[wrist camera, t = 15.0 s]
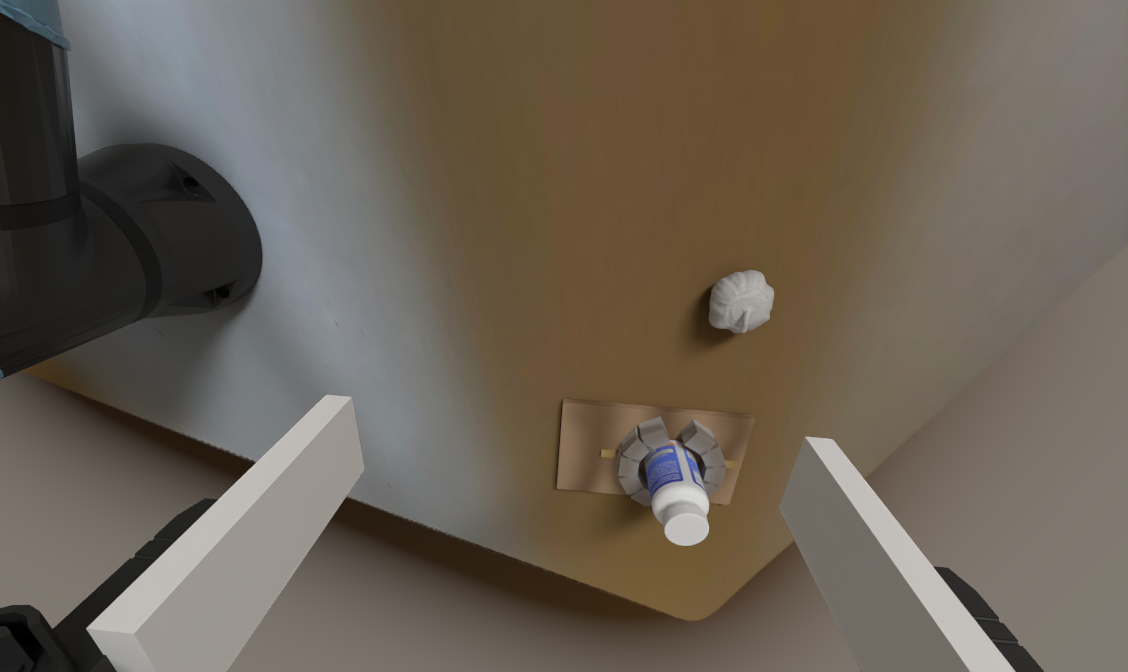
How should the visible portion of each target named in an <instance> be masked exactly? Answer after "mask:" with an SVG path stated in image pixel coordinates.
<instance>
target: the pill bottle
mask: <svg viewBox="0 0 1128 672" xmlns="http://www.w3.org/2000/svg"><path fill="white" fill-rule="evenodd" d="M644 463H645V470H646V475H647V481H648V487H649V493H650V499H651V505H652V510H653V513H654V515H655V517H656V518H657V519H658V521H660V522H661V523H662V524H663V529H664V533H665V535H666V537H667V538H668V539H669V540H670V541H671V542H673V543H675V544H677V545H682V546H689V545H694V544H697V543H699V542H701V541H702V540H703V539H705V537H706V536H707V534H708V532H709V525H708V521H707V517H706V515H707V513H708V510H709V500H708V497H707V494H706V491H705V487H704V484H703V481H702V478H701V475H700V472H699V469H698V466H697V463H696V460H695V457H694V454H693V452H692V451H691V449H690V448H689V447H687V446H685V445H684V443H682V442H679V441H675V440H670V444H668V445H666V446H663V447H660V448H657V449H654V450H651V451H650V452H649V453H648V454H647V455H646V456H645V459H644Z"/></svg>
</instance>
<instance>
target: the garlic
mask: <svg viewBox="0 0 1128 672" xmlns="http://www.w3.org/2000/svg"><path fill="white" fill-rule="evenodd" d="M773 299H774V290H773V288H772V287H770V286H768V285H767V284H766V282H765V278H764V276H763V274H762V273H760V272H758V271H754V270H747V271H744V272H734V273H732V274H731V275H729V276H727V277H725V278H721V279H720V280H719V281H717V282H716V283H715V285H714V286H713V288H712V290H711V297H710V301H709V306H710V312H709V322H710V324H711V325H712V326H713V327H715V328H719V329H729V330H731V331H732V332H733V333H739V332H741V333H745V332H746V331H749V330H753V329H755V328H756V327H758V326H760V325H762V324H763V323H764V322H766V321H768V320H769V318H770V310H771V309H772V303H773Z"/></svg>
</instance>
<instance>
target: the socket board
mask: <svg viewBox="0 0 1128 672" xmlns="http://www.w3.org/2000/svg"><path fill="white" fill-rule="evenodd" d="M754 422H755V418H754V416H753V415H749V414H737V413H726V412H714V411H703V410H691V409H679V408H668V407H656V406H645V405H633V404H622V403H610V402H598V401H587V400H575V399H564V398H563V409H562V423H561V437H560V450H559V464H558V478H557V489H565V490H576V491H586V492H597V493H608V494H619V495H630V498H632V499H633V500H635V501H637V502H639V503H640V504H642V505H644V506H646V507H649V506H650V505H651V499H650V493H649V487H648V481H647V475H646V470H645V463H644V459H645V456H646V455H647V454H648V453H649V452H650V451H651V450H654V449H657V448H660V447H663V446H666V445H668V444H670V440H675V441H679V442H682V443H684V445H685V446H687V447H689V448H690V449H691V451H692V452H693V454H694V457H695V460H696V463H697V466H698V469H699V472H700V475H701V478H702V481H703V484H704V487H705V491H706V494H707V497H708V500H709V503H716V504H727V505H729V504H730V501H731V497H732V494H733V491H734V487H735V484H736V481H737V478H738V474H739V471H740V468H741V464H742V461H743V458H744V455H745V451H746V448H747V445H748V441H749V438H750V435H751V432H752V428H753V425H754Z"/></svg>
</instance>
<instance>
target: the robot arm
mask: <svg viewBox="0 0 1128 672" xmlns="http://www.w3.org/2000/svg"><path fill="white" fill-rule="evenodd" d="M67 50H69V51H71V46H70V43H69V41H68V40H67V39H66V38H65V37H64V34H63V29H62V23H61V17H60V11H59V5H58V0H0V379H2V378H4V377H7V376H9V375H12V374H14V373H16V372H19V371H21V370H23V369H26V368H28V367H30V366H33V365H35V364H37V363H40V362H42V361H44V360H47V359H49V358H52V357H54V356H56V355H59V354H61V353H63V352H66V351H68V350H70V349H73V348H75V347H77V346H80V345H82V344H84V343H87V342H89V341H91V340H94V339H96V338H98V337H101V336H103V335H105V334H108V333H110V332H112V331H115V330H117V329H119V328H122V327H124V326H126V325H129V324H131V323H134V322H136V321H138V320H141V319H144V318H155V317H167V316H178V315H190V314H201V313H207V312H211V311H214V310H217V309H220V308H222V307H224V306H226V305H228V304H231V303H233V302H235V301H237V300H239V299H240V298H242V297H243V296H244V295H246V294H247V293H248V292H249V291H250V290H251V288H252V287H253V285H254V284H255V282H256V280H257V278H258V275H259V272H260V267H261V258H262V253H261V243H260V238H259V234H258V231H257V228H256V225H255V223H254V220H253V218H252V216H251V214H250V212H249V210H248V208H247V207H246V205H245V204H244V202H243V200H242V199H241V198H240V196H239V195H238V194H237V192H236V191H235V190H234V189H233V187H232V186H231V185H230V184H229V183H228V182H227V181H226V180H225V179H224V178H223V177H222V176H221V175H220V174H219V173H217V172H216V171H215V170H214V169H213V168H211V167H210V166H209V165H207V164H206V163H204V162H203V161H201V160H200V159H198V158H196V157H194V156H193V155H190V154H188V153H186V152H184V151H182V150H179V149H176V148H173V147H170V146H166V145H160V144H120V145H114V146H109V147H105V148H102V149H100V150H97V151H95V152H93V153H91V154H88V155H86V156H84V157H82V158H79V159H77V155H76V144H75V133H74V122H73V111H72V101H71V90H70V79H69V68H68V57H67ZM363 471H364V464H363V458H362V452H361V447H360V441H359V435H358V429H357V424H356V418H355V412H354V406H353V401H352V397H346V396H335V395H326V396H324V397H323V398H322V399H321V400H320V401H319V402H318V403H317V404H316V405H315V406H314V407H313V408H312V409H311V410H310V411H309V412H308V413H307V414H306V415H305V416H304V417H303V418H302V419H301V420H300V421H299V422H298V423H297V424H296V425H295V426H294V427H293V428H292V429H291V430H290V431H289V432H287V433H286V434H285V435H284V436H283V437H282V438H281V439H280V440H279V441H278V442H277V443H276V444H275V445H274V446H273V447H272V448H271V449H270V450H269V451H268V452H267V453H266V454H265V455H264V456H263V457H262V458H261V459H260V460H259V461H258V462H257V463H256V464H255V465H254V466H253V467H252V468H250V469H249V470H248V472H246V473H245V474H244V475H243V476H242V477H241V478H240V479H239V480H238V481H237V482H236V483H235V484H234V485H233V486H232V487H231V488H230V489H229V490H228V491H227V492H226V493H225V494H224V495H223V496H222V497H221V498H220V499H219V500H218V499H206V498H205V499H203V500H202V501H200V502H198V503H197V504H195V505H193V506H192V507H190V508H189V509H187V510H185V511H183V512H182V513H180V514H178V515H177V516H176V517H175V518H174V519H173V520H172V521H170V522H169V523H168V524H167V525H166V526H165V527H164V528H163V529H162V530H161V531H159V532H158V533H157V534H156V535H155V536H154V539H153V540H152V541H149V542H147V543H146V544H145V545H144V546H143V547H142V548H141V549H140V550H139V551H138V552H137V553H135V557H134V558H133V559H131V558H130V559H129V560H128V561H127V562H126V563H124V564H123V565H122V566H121V567H120V568H119V569H118V570H117V571H116V572H115V573H114V574H112V575H111V576H110V577H109V578H108V579H107V580H106V581H105V582H104V583H103V584H101V585H100V586H99V587H98V588H97V589H96V590H95V591H94V592H93V593H92V594H91V595H89V596H88V597H87V598H86V599H85V600H84V601H83V602H82V603H81V604H80V605H78V607H76V608H75V609H74V610H73V611H72V612H71V613H70V614H69V615H68V616H66V617H65V618H64V619H63V620H62V621H61V622H60V623H59V624H58V625H57V626H56V627H55V628H53V629H52V628H51V627H50V625H49V624H48V622H47V621H46V619H45V618H44V617H43V615H42V614H41V613H40V611H39V610H37V609H35V608H33V607H32V606H30V605H11V606H7V607H4V608H0V672H226V671H227V670H228V669H229V667H230V666H231V664H232V663H233V661H234V660H235V658H236V657H237V655H238V654H239V652H240V651H241V650H242V648H243V647H244V645H245V644H246V642H247V640H248V639H249V638H250V636H251V635H252V633H253V632H254V631H255V629H256V628H257V626H258V625H259V623H260V622H261V620H262V619H263V617H264V616H265V614H266V613H267V612H268V610H269V609H270V607H271V606H272V604H273V603H274V601H275V600H276V598H277V597H278V595H279V594H280V592H281V591H282V589H283V588H284V587H285V585H286V584H287V582H288V580H289V579H290V578H291V576H292V575H293V573H294V572H295V570H296V569H297V567H298V566H299V565H300V563H301V562H302V560H303V559H304V557H305V556H306V554H307V553H308V551H309V550H310V548H311V547H312V546H313V544H314V542H315V541H316V540H317V538H318V537H319V535H320V534H321V533H322V531H323V530H324V528H325V527H326V525H327V524H328V522H329V521H330V519H331V518H332V516H333V515H334V513H335V512H336V510H337V509H338V508H339V506H340V505H341V503H342V502H343V500H344V499H345V497H346V496H347V494H348V493H349V492H350V490H351V489H352V487H353V486H354V484H355V483H356V481H357V480H358V478H359V477H360V475H361V474H362V473H363ZM779 510H780V512H781V514H782V516H783V518H784V520H785V522H786V524H787V526H788V528H789V530H790V532H791V534H792V536H793V538H794V540H795V542H796V544H797V546H798V548H799V550H800V552H801V554H802V556H803V557H804V560H805V562H806V564H807V566H808V568H809V570H810V572H811V574H812V576H813V578H814V579H815V582H816V584H817V586H818V588H819V590H820V592H821V594H822V596H823V598H824V600H825V602H826V604H827V606H828V608H829V610H830V612H831V614H832V616H833V618H834V620H835V622H836V624H837V626H838V628H839V630H840V632H841V634H842V636H843V638H844V640H845V642H846V644H847V646H848V648H849V650H850V652H851V654H852V656H853V658H854V660H855V662H856V664H857V666H858V668H859V670H860V672H1044V671H1043V670H1042V669H1041V667H1040V666H1039V665H1038V664H1037V663H1036V661H1035V660H1034V659H1033V658H1032V657H1031V656H1030V654H1029V653H1028V652H1027V651H1026V650H1025V649H1024V648H1023V646H1019V644H1018V640H1017V639H1016V638H1015V636H1014V635H1013V634H1012V633H1011V632H1010V631H1009V630H1008V628H1007V627H1006V626H1005V625H1004V624H1003V623H1000V622H999V617H998V616H997V615H996V614H995V613H994V611H993V610H992V609H991V608H990V607H989V606H988V604H987V603H986V602H985V601H984V600H983V598H982V597H981V596H980V595H979V594H978V593H977V592H976V590H974V589H973V588H972V587H971V586H969V585H968V584H967V583H966V582H965V581H963V580H962V579H961V578H960V577H958V576H957V575H956V574H955V573H954V572H952V571H951V570H950V569H949V568H944V567H933V566H932V565H931V564H930V562H929V561H928V560H927V559H926V557H925V556H924V555H923V553H922V552H921V551H920V550H919V549H918V547H917V546H916V545H915V543H914V542H913V541H912V540H911V538H910V537H909V536H908V535H907V533H906V532H905V531H904V529H903V528H902V527H901V526H900V524H899V523H898V522H897V521H896V519H895V518H894V517H893V516H892V514H891V513H890V512H889V510H888V509H887V508H886V507H885V505H884V504H883V503H882V501H881V500H880V499H879V498H878V496H877V495H876V494H875V492H874V491H873V490H872V489H871V487H870V486H869V485H868V484H867V482H866V481H865V480H864V479H863V477H862V476H861V475H860V473H859V472H858V471H857V470H856V468H855V467H854V466H853V465H852V463H851V462H850V461H849V459H848V458H847V457H846V456H845V454H844V453H843V452H842V451H841V449H840V448H839V447H838V445H837V444H836V443H835V442H834V440H833V439H826V438H814V437H805V438H804V441H803V444H802V447H801V449H800V452H799V455H798V457H797V460H796V463H795V465H794V468H793V471H792V473H791V476H790V479H789V481H788V484H787V487H786V490H785V492H784V495H783V498H782V500H781V503H780V506H779Z"/></svg>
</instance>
